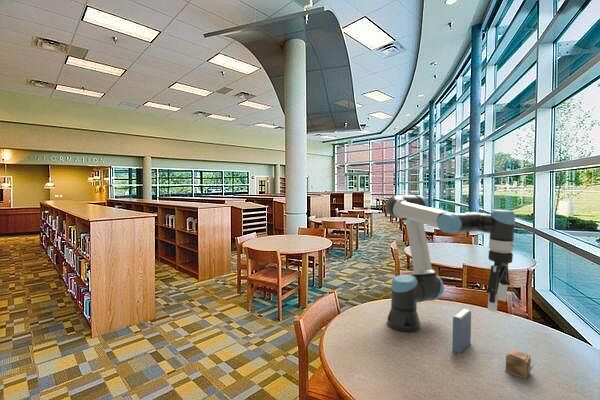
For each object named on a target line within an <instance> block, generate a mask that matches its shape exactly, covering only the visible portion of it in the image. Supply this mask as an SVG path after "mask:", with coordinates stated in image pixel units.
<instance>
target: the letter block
mask: <svg viewBox="0 0 600 400" xmlns="http://www.w3.org/2000/svg"><path fill="white" fill-rule="evenodd" d="M531 364H532V358H531V355H529V354H528V353H524V352H522V351H520V350H516V349H513V348H512V349H511V348H509V350H508V352H507V353H506V355H505V369H506V370H507V371H509V372H512V373H514V374H517V375H520V376H522V377H525V378H526V379H527V378H528V376H529V374H530V371H531V369H532V367H531ZM509 372H508V373H509ZM512 373H511V374H512ZM514 374H513V375H514ZM517 375H516V376H517ZM522 377H521V378H522ZM525 378H524V379H525Z"/></svg>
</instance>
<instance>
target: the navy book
mask: <svg viewBox="0 0 600 400" xmlns="http://www.w3.org/2000/svg"><path fill="white" fill-rule="evenodd" d="M471 333H472V310H470V309H467V308H463V309H461V310H460V311H459V312H457V313H456V314H454V315H453V316H452V347H451V348H452V349H451V351H453V352H454V353H457V354H459V355H460V354H462V353H463V352H464V350H466V349H467V347H469V345H470V344H471V336H472V334H471Z"/></svg>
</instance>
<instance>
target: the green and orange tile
mask: <svg viewBox="0 0 600 400" xmlns="http://www.w3.org/2000/svg"><path fill="white" fill-rule="evenodd" d="M504 371H505V372H507V373H509V374H512V375H515V376H517V377H519V378H522V379H524V380H525V379H527V378H525V377H522V376H520V375H517V374H514V373H512V372H509V371H507V370H506V368H505V369H504Z"/></svg>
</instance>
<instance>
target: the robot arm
mask: <svg viewBox="0 0 600 400" xmlns="http://www.w3.org/2000/svg"><path fill="white" fill-rule="evenodd" d="M385 211H386V212H387V214H388V215H389V216H390V217H394V218H397V219H402V222H403V223H404V224H405V226H406V232H407V237H408V244H409V249H410V254H411V262H412V266H413V267H412V268H413V271H412V273H411V274H399V275H395V276H394V277H393V278H392V279H391V285H390V289H391V290H390V291H391V293H390V294H391V296H390V299H391V300H390V310H389V313H388V316H387V321H386V322H387V323H386V324H387V325H388V327H390V328H391V329H393V330H395V331H397V332H398V331H399V332H403V333H414V332H417V331H420V329H421V321H420V318H419V314H418V311H417V308H418V307H417V303H422V302H427V301H434V300H437V299H440V298H441V297H442V295H444V291H445V286H444V284H445V283H444V282H443V280H442V279H441V277H440V276H439V275H437V271H436V270H434V269H433V268H432V267H433V266H432V262H431V257H430V250H429V246H428V240H427V234H426V229H425V225H428V226H431V227H434V228H438V229H439V230H440V231H441V232H442V233H446V234H456V233H470V232H482V233H487V234H489V241H488V249H489V250H488V260H489V261H491V262H494V263H493V265H491V266H490V274H489V277H488V283H487V289H486V290H485V293H487V294H488V297H487V299H488V301H487V310H489V311H492V312H494V313H497V312H498V311H497V310H498V301H502V302H507V298H508V297H507V295H508V286H510V285H511V282H510V275H509V264H511V263H513V258H514V257H513V255H514V253H513V251H514V247H516V243H514V239H515V238H514V237H515V226H516V214H515V211H513V210H509V209H492V210H491V211H490V213H485V212H476V211H465V212H460V213H459V212H451V211H446V210H442V209H438V208H434V207H429V203H428V201H427V199H426V198H425V197H423V196H422V195H419V194H395V195H392V196H390V197H389V198H388V199H387V200H386V203H385Z"/></svg>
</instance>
